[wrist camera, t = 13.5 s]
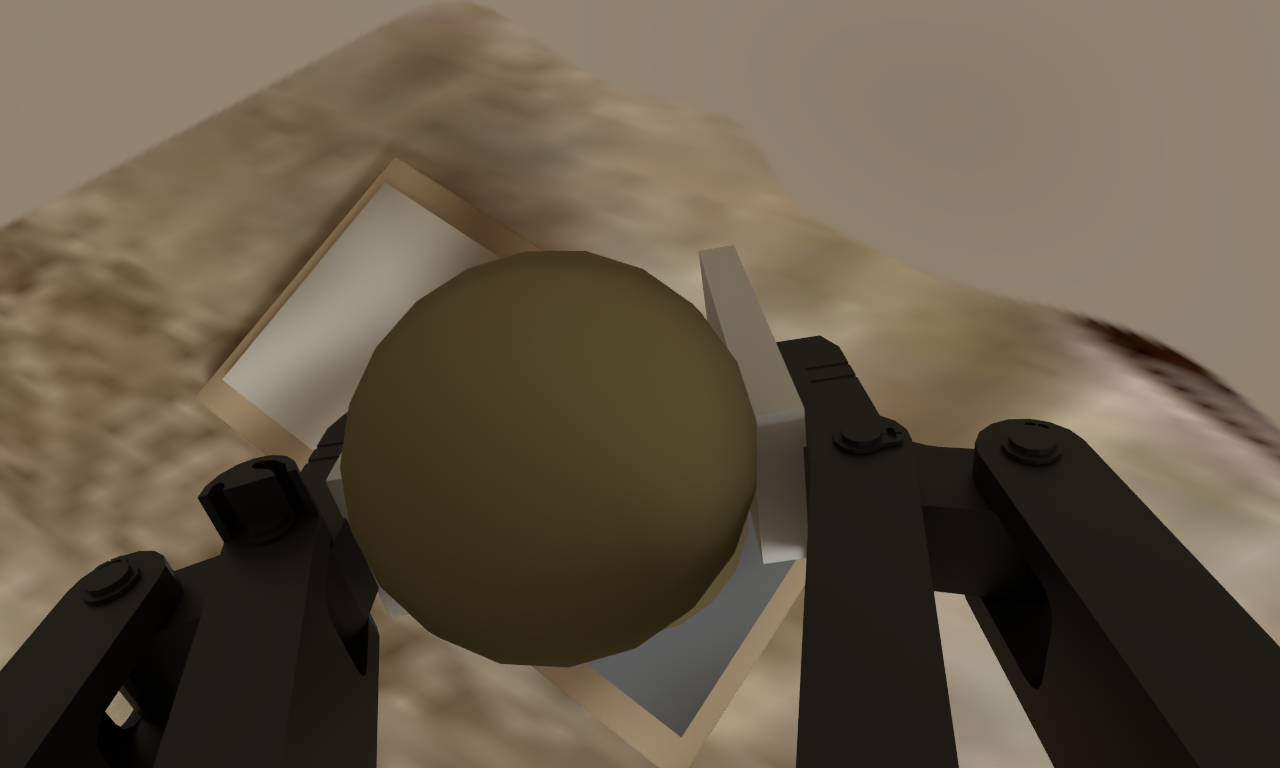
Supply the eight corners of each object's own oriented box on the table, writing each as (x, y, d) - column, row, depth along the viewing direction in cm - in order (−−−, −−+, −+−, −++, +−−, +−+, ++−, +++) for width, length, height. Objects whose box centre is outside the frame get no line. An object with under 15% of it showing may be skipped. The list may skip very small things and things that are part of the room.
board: (215, 404, 28) (187, 395, 27) (407, 172, 30) (391, 150, 29) (679, 772, 24) (678, 787, 22) (872, 471, 26) (883, 465, 24)
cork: (726, 661, 17) (759, 804, 7) (485, 607, 18) (170, 658, 7) (767, 416, 19) (847, 209, 8) (541, 375, 19) (342, 139, 9)
